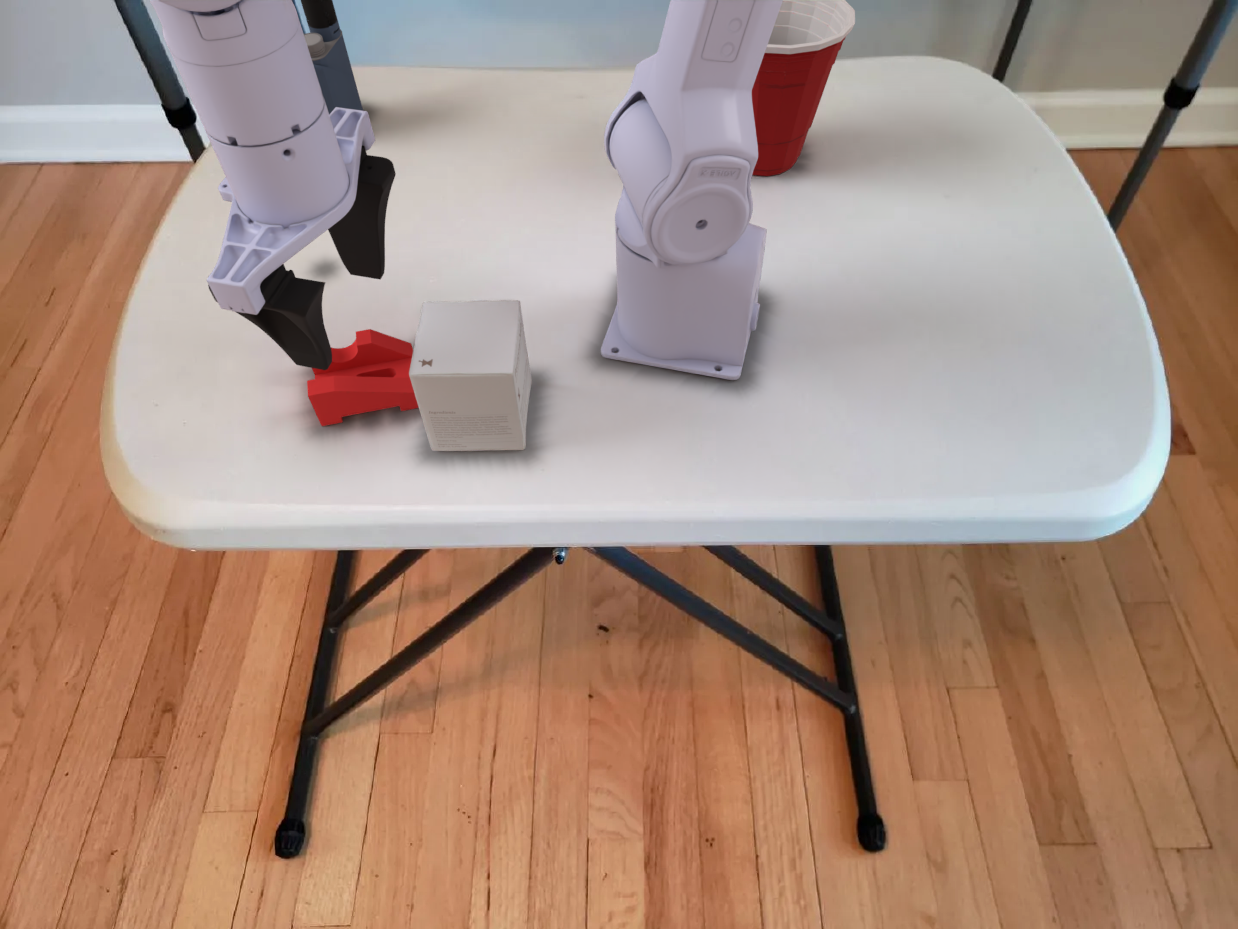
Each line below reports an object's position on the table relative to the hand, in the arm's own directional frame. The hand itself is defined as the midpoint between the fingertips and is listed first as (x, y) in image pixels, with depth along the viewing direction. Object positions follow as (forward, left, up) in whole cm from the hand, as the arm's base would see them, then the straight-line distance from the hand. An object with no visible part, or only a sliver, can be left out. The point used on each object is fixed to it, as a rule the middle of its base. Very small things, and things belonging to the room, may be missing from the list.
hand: (341, 316), depth 54 cm
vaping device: (+15, -28, -7) cm, 32 cm away
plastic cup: (-21, -31, -7) cm, 38 cm away
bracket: (0, 0, -7) cm, 7 cm away
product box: (-8, 0, -7) cm, 11 cm away
